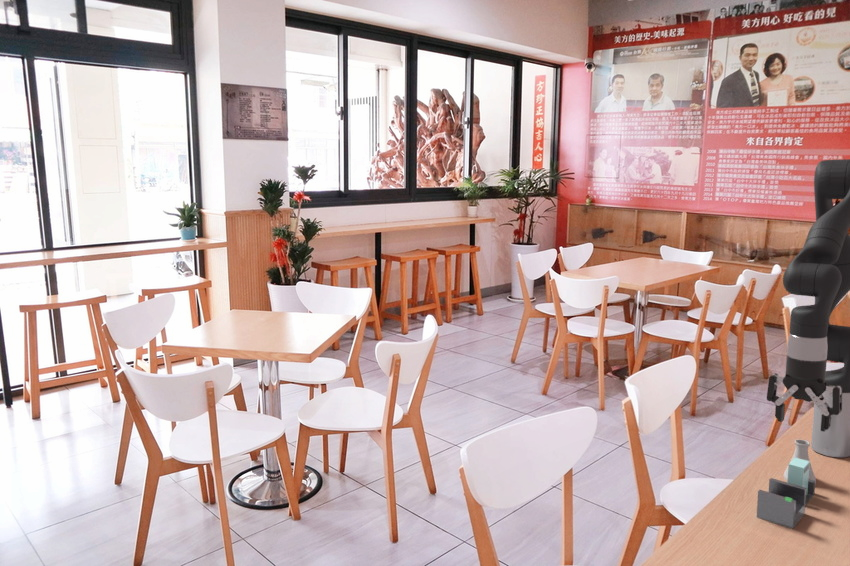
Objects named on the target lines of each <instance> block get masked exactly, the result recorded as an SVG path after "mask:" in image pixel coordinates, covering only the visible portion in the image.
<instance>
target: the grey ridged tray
mask: <svg viewBox="0 0 850 566" xmlns="http://www.w3.org/2000/svg"><path fill="white" fill-rule="evenodd" d="M815 486H816V485H815V481H814V480H810V479H808V493H807V491H806V494H807V495H806V502H805V506H806V505H807V504H808V502H809V501H810V500H811V499H812V497H813V496H814V494H815V490H816V487H815Z"/></svg>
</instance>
